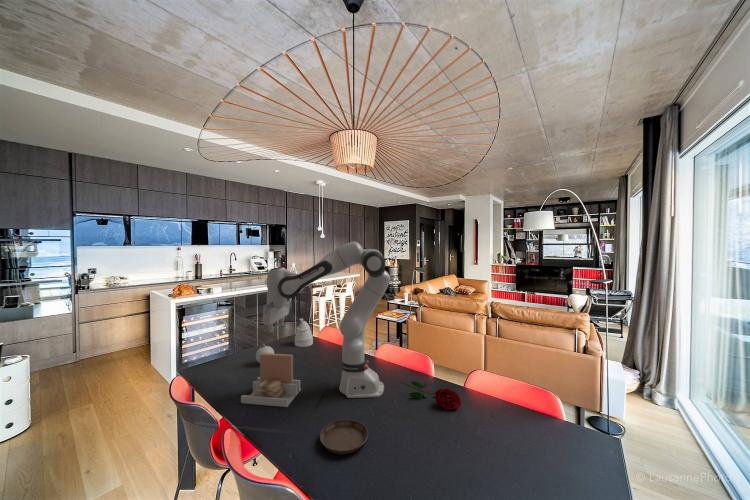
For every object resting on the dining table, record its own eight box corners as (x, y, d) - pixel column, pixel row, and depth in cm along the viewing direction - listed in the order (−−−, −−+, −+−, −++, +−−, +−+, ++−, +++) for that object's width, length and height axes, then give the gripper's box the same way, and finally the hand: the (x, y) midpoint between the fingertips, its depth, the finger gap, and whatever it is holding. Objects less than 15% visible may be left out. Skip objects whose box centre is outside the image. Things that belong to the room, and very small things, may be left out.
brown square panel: (293, 391, 139) (292, 354, 139) (291, 393, 137) (291, 356, 137) (262, 389, 142) (262, 352, 141) (260, 391, 140) (260, 354, 139)
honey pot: (291, 345, 205) (290, 320, 204) (301, 340, 217) (301, 316, 217) (306, 347, 201) (306, 322, 200) (316, 341, 213) (316, 317, 213)
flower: (398, 371, 138) (461, 391, 124) (404, 373, 146) (464, 392, 131) (393, 391, 135) (457, 414, 121) (400, 392, 142) (460, 414, 128)
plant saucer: (344, 420, 118) (344, 413, 118) (377, 439, 107) (377, 431, 107) (309, 443, 105) (309, 435, 105) (343, 467, 94) (343, 458, 93)
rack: (301, 390, 142) (301, 378, 142) (287, 409, 126) (286, 395, 126) (260, 387, 145) (260, 375, 145) (241, 405, 129) (240, 392, 129)
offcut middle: (282, 390, 135) (282, 385, 135) (276, 397, 129) (276, 392, 129) (263, 389, 137) (263, 384, 137) (256, 396, 131) (256, 390, 131)
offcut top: (280, 385, 135) (280, 380, 135) (274, 392, 129) (274, 387, 129) (265, 384, 136) (265, 379, 136) (258, 391, 130) (258, 385, 130)
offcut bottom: (284, 396, 135) (284, 391, 135) (278, 403, 129) (278, 397, 129) (261, 394, 137) (261, 389, 137) (254, 401, 131) (254, 395, 131)
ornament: (252, 365, 171) (252, 345, 171) (263, 359, 181) (263, 340, 181) (266, 367, 168) (266, 347, 168) (277, 360, 178) (277, 341, 178)
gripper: (271, 305, 128) (271, 336, 128) (291, 297, 148) (291, 323, 149) (258, 304, 129) (258, 335, 129) (280, 296, 149) (280, 322, 149)
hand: (276, 328), depth 139 cm, fingers open, 8 cm apart
